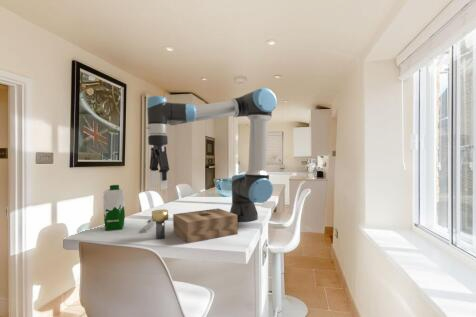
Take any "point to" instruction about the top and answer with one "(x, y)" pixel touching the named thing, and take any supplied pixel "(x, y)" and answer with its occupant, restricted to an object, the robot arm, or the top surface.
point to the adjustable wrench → (147, 226)
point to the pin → (160, 222)
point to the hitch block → (204, 225)
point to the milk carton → (114, 208)
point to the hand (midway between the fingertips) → (159, 187)
